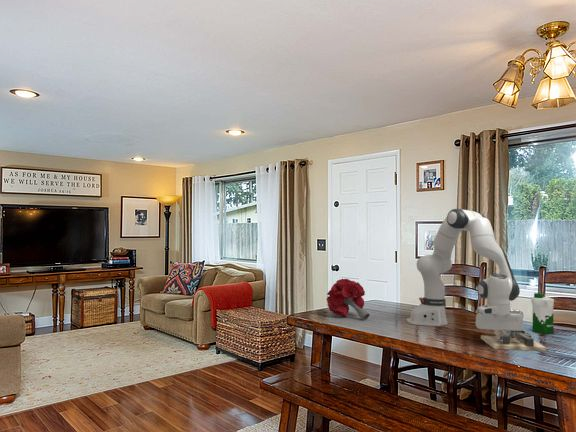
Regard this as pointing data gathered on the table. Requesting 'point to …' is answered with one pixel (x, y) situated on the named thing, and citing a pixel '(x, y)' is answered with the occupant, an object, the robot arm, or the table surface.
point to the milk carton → (542, 314)
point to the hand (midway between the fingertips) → (499, 339)
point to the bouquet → (346, 298)
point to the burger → (523, 333)
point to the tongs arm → (507, 337)
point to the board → (512, 344)
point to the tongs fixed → (522, 338)
